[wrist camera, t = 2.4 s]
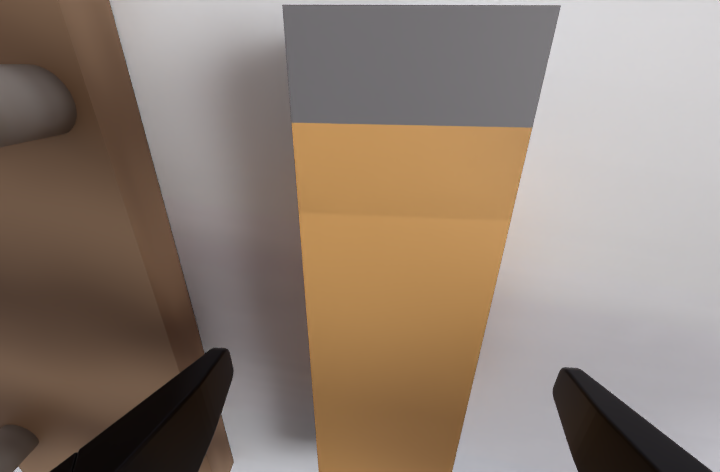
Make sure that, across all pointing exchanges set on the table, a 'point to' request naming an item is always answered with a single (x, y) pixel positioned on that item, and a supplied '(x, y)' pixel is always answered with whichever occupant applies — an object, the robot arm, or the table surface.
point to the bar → (405, 211)
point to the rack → (80, 241)
